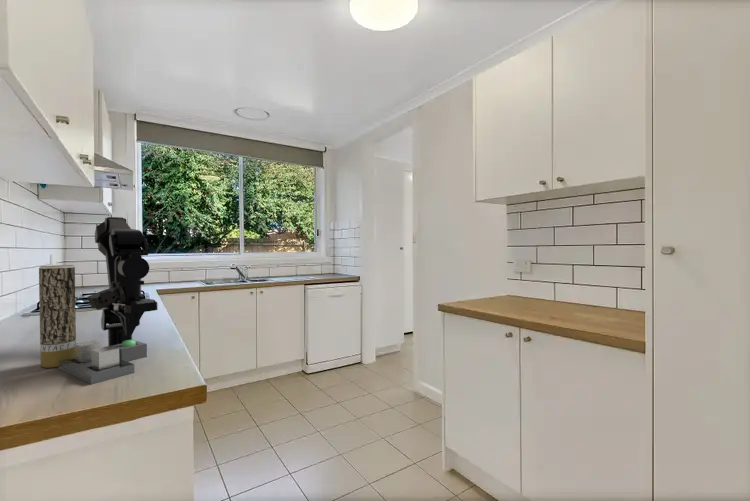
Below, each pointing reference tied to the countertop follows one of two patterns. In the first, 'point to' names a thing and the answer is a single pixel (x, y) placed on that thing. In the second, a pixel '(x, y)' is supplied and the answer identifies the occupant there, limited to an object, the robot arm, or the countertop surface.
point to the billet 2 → (105, 358)
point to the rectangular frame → (90, 376)
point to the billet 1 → (84, 351)
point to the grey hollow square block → (132, 351)
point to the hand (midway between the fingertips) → (128, 335)
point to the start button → (128, 343)
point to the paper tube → (57, 314)
